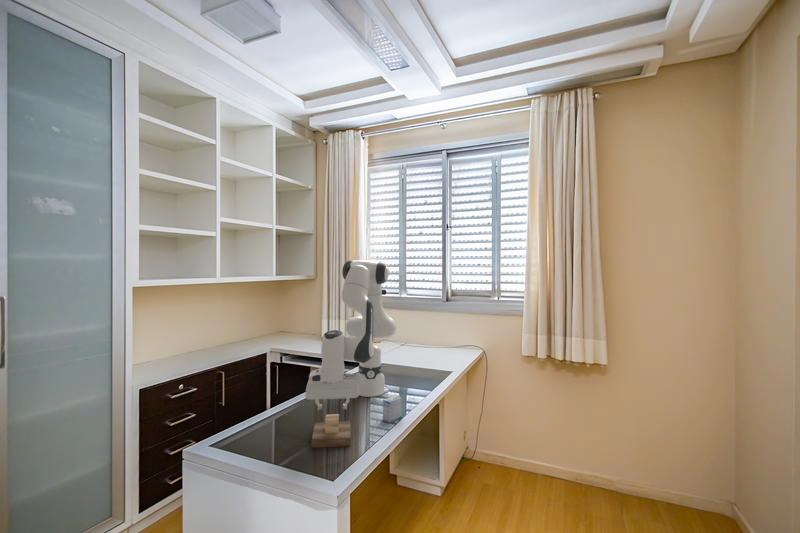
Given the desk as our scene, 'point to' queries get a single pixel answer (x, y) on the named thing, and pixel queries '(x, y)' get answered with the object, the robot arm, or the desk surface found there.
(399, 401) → the medicine box
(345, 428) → the block
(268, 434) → the desk surface
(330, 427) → the oak cube
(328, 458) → the desk surface
